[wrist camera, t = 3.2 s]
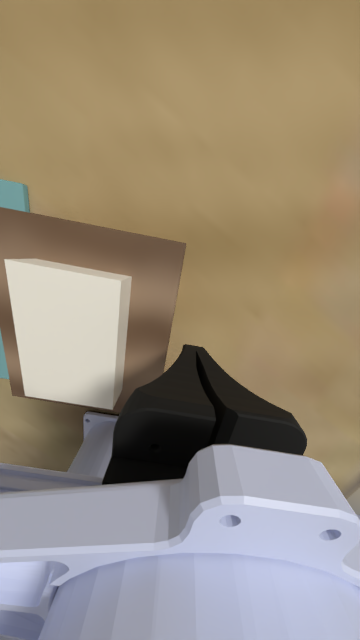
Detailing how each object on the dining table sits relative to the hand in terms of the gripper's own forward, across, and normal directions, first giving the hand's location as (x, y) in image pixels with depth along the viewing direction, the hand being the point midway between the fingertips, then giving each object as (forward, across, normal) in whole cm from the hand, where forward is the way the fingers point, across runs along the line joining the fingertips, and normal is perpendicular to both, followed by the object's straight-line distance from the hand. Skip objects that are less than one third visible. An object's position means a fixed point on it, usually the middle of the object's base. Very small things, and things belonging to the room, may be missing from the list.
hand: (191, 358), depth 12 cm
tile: (+1, +8, 0) cm, 8 cm away
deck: (+5, +8, 0) cm, 9 cm away
